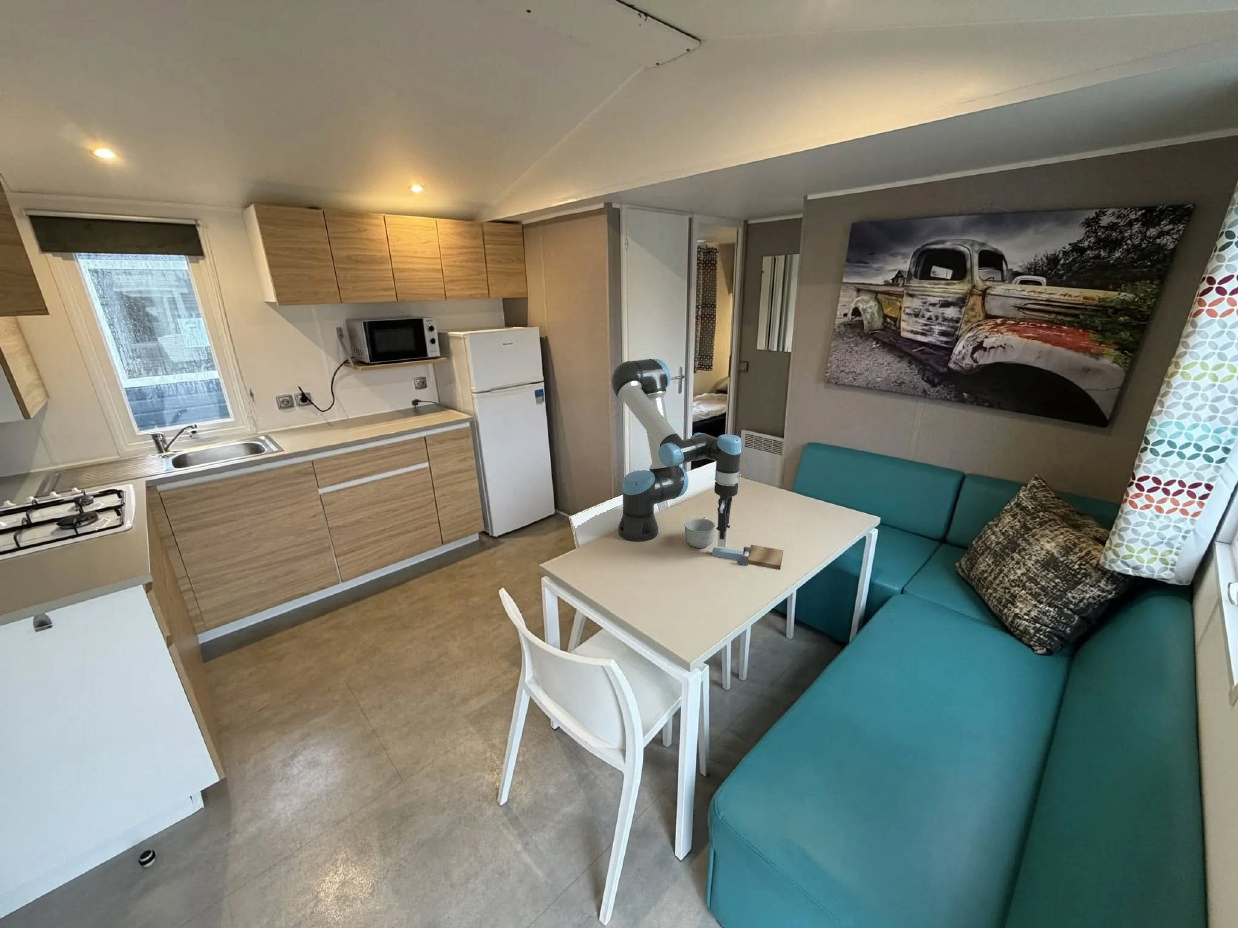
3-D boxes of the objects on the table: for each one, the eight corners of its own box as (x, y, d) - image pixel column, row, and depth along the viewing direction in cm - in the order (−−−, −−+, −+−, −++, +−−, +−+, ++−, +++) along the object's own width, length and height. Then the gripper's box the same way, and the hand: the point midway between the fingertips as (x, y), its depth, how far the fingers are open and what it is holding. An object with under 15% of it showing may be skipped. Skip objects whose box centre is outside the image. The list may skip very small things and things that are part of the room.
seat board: (746, 563, 162) (746, 559, 161) (750, 548, 171) (751, 544, 171) (780, 569, 158) (780, 565, 157) (783, 553, 167) (783, 550, 167)
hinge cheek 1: (743, 555, 166) (743, 547, 165) (743, 554, 167) (744, 546, 166) (750, 556, 166) (750, 549, 165) (750, 555, 166) (751, 547, 165)
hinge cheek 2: (740, 564, 161) (740, 556, 160) (740, 563, 162) (741, 555, 161) (747, 565, 160) (748, 557, 159) (747, 564, 161) (748, 556, 160)
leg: (748, 557, 165) (749, 550, 165) (746, 563, 161) (747, 556, 161) (714, 552, 170) (714, 545, 169) (711, 558, 166) (711, 551, 165)
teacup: (705, 554, 168) (706, 533, 165) (678, 545, 174) (678, 525, 171) (723, 539, 178) (724, 519, 176) (696, 531, 184) (697, 512, 182)
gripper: (734, 490, 151) (729, 556, 159) (741, 476, 162) (736, 539, 170) (710, 487, 153) (706, 552, 161) (719, 474, 165) (715, 535, 173)
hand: (721, 545), depth 166 cm, fingers closed
